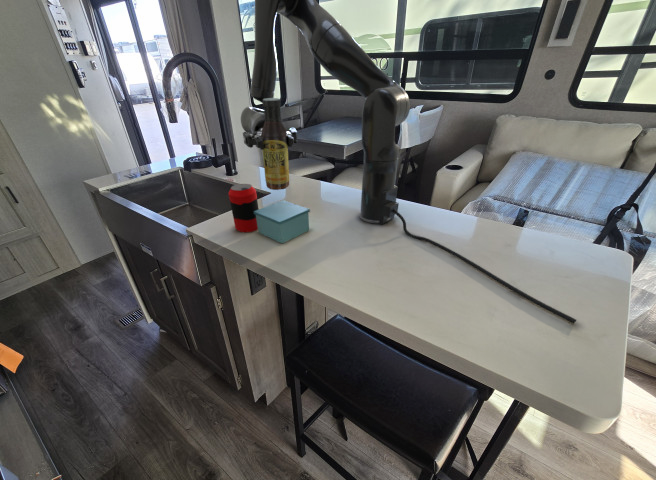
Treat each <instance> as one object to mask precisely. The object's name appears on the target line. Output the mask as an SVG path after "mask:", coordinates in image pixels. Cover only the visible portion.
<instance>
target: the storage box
mask: <svg viewBox="0 0 656 480" xmlns="http://www.w3.org/2000/svg"><path fill="white" fill-rule="evenodd" d="M309 213H311V209H310V208H307V207H305V206H302V205H299V204H296V203H293V202H290V201H287V200H285V199H282V200H280V201H277V202H275V203H272V204H270V205H266V206H264V207H261V208H259V210H256V211H254V214H255V215H256V220H257V226H258V230H257V232H258V233H259V234H261V235H262V236H265V237H268V238H269V239H271V240H274V241H276V242H278V243H280V244H284V243H287V242H288V241H291V240H293V239H294V238H297V237H298V236H301V235H303V234H306V232H310V219H309Z"/></svg>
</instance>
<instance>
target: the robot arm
mask: <svg viewBox="0 0 656 480" xmlns="http://www.w3.org/2000/svg"><path fill="white" fill-rule="evenodd" d="M277 14H278V15H280V16H282V17H284V18H286V19H287V20H288V21H290V23H292V24H293V25H294V26H295V27H296V28H297V29H298V30H299V31H300V32H301V34H302V35H303V37H304V39H305V42H306V44H307V47H308V49H309V51H310V53H311V55H312V56H313V58H314V59H315V60H316V61H317V62H318V64H319V65H320V66H321V67H322V68H323V69H324V70H325V71H326V72H327V73H328V74H329V75H330V76H332V77H333V78H334V79H335V80H338V81H339V82H341V83H342V84H344V85H346V86H347V87H349V88H351V89H353V90H355V91H356V92H357V93H358V94H360V95H361V96H362V97H363V99H365V100H364V102H363V106H362V113H361V147H362V150H363V167H362V183H361V196H360V213H359V218H360V220H361V221H363V222H365V223H370V224H379V225H385V224H386V223H387V222H390V221H391V220H393V219H394V218H395V215H396V216H397V217H398V218H399V219H400V220H401V222H402V228H403V232H404V234H406V235H407V236H408V237H410V238H413V239H416V240H420V241H424V242H426V243H428V244H431V245H433V246H435V247H437V248H440V249H441V250H444V251H445V252H447V253H449V254H451V255H452V256H454V257H456V258H458V259H460V261H463V262H464V263H466V264H468V265H470V266H471V267H473V268H475V269H476V270H478V271H480V272H481V273H483V274H484V275H486V276H488V277H489V278H491V280H494V281H495V282H496V283H497V282H498V283H499V284H501V285H502V286H504V287H506V288H507V289H509V290H511V291H512V292H513V293H516V294H517V295H519V296H521V297H523V298H524V299H526V300H528V301H530V302H531V303H533V304H535V305H537V306H538V307H540V308H542V309H544V310H546V311H548V312H550V313H552V314H554V315H556V316H558V317H560V318H561V319H564V320H566V321H567V322H570V323H572V324H575V323H576V322H577V319H576V318H574V317H572V316H570V315H569V314H566V313H564V312H562V311H560V310H559V309H556V308H554V307H552V306H550V305H548V304H546V303H544V302H542V301H541V300H539V299H537V298H535V297H533V296H531V295H529V294H528V293H526V292H524V291H523V290H520V289H519V288H517V287H515V286H514V285H512V284H510V283H509V282H507V281H506V280H503V279H502V278H500V277H499V276H497V275H495V274H494V273H492V272H490V271H489V270H487V269H485V268H484V267H482V266H481V265H479V264H477V263H475V262H474V261H472V260H470V259H469V258H466V257H465V256H464V255H462V254H460V253H458V252H456V251H454V250H452V249H450V248H448V247H447V246H444V245H442V244H441V243H439V242H437V241H434V240H432V239H430V238H427V237H424V236H420V235H415V234H413V233H411V232H409V230H408V229H407V222H406V219H405V218H404V216H403V215H402V214H401V213H400V212H399V204H400V203H399V202H397V197H398V188H399V187H398V186H397V185H396V181H397V173H398V165H399V157H400V146H399V145H398V144H396V141H395V137H396V127H398V126H400V125H401V124H403V123H404V122H405V121H406V120H407V119H408V117H409V114H410V111H411V101H410V97H409V95H408V93H407V92H406V90H405V89H404V88H403V87H402V86H401V85H400V84H398V83H397V81H395V80H393V79H392V78H391V77H390V76H389V75H387V74H386V73H385V72H384V71H383V70H382V69H381V68H380V67H379V66H378V65H377V64H376V63H375V62H374V60H372V58H371V57H370V55H368V54H367V52H366V51H365V50H364V49H363V47H361V45H360V44H358V42H357V41H356V40H355V39H354V37H353V36H352V35H351V34H350V33H349V32H348V30H346V28H345V27H344V26H343V25H342V24H341V23H340V22H339V21H338V20H337V19H336V18H335V17H334V16H333V15H332V14H330V12H328V10H326V8H324V7H323V6H321V5H320V4H319V3H318V1H317V0H254V55H253V56H254V57H253V68H252V75H251V83H250V96H251V98H252V99H254V100H256V101H258V102H260V103H261V104H263V99H266V98H275V91H276V84H277V79H278V59H277V52H276V46H275V25H276V18H277ZM264 123H265V112H264V109H261V108H257V107H252V106H246V107H245V108H243V110H242V111H241V114H240V124H241V128H242V129H243V130H244V131H243V132H242V137H243V143H244V145H246V146H247V148H250V149H252V148H254V146H255V147H256V148H257V149H260V150H262V151H263V150H264V145H263V139H262V129H263V126H264ZM286 132H287V144H288V148H292V147H293V146H294V145H295V144H297V143H298V142H299V141H298V131H297V130H296V128H295V127H290V128H289V129H288V131H286Z"/></svg>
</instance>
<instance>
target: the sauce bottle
mask: <svg viewBox="0 0 656 480" xmlns="http://www.w3.org/2000/svg"><path fill="white" fill-rule="evenodd" d="M281 100H282V99H281V98H279V97H274V98H266V99H263V103H262V107H263V110H264V112H265V123H264V126H263V129H262V139H263V145H264V150H262V158H263V160H262V161H263V170H264V178H265V179H264V181H265V184H266V188H267V189H269V190H273V191H280V190H285V189H287V188H288V187H289V186H290V166H289V163H290V162H289V147H288V144H287V132H288V131H287V130H286V127H285V126H284V124H283V122H282V115H281V113H282V112H281V107H282V102H281Z"/></svg>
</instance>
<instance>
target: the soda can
mask: <svg viewBox="0 0 656 480" xmlns="http://www.w3.org/2000/svg"><path fill="white" fill-rule="evenodd" d="M257 195H258V194H257V190H256V188H254V187H253V186H252V184H250V183H238V184H234V185H232V186H231V187H230V189H229V191H228V198H229V203H230V208H231V213H232V218H233V222H234V228H235V230H236V231H238V232H240V233H252V232H256V231H258V226H257V220H256V215H255V214H254V211H256V210H259V209H260V208H259V203H258V202H259V201H258V196H257Z"/></svg>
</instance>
